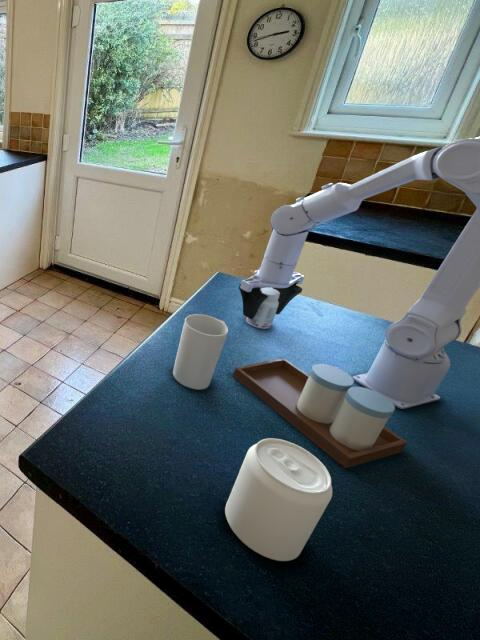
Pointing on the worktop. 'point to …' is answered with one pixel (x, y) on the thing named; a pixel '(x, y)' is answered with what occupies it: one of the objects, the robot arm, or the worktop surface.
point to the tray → (282, 396)
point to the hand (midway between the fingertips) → (261, 314)
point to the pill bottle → (266, 309)
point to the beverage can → (278, 498)
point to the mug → (199, 350)
